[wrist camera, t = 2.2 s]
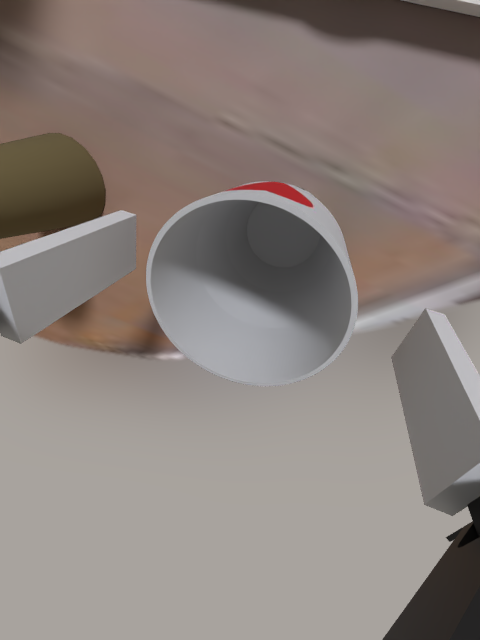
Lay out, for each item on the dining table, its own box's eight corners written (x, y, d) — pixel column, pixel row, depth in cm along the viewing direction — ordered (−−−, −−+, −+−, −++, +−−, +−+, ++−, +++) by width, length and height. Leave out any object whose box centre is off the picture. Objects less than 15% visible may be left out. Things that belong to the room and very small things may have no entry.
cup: (378, 227, 18) (413, 311, 9) (286, 308, 22) (257, 412, 14) (276, 129, 16) (217, 128, 8) (201, 236, 21) (116, 304, 13)
